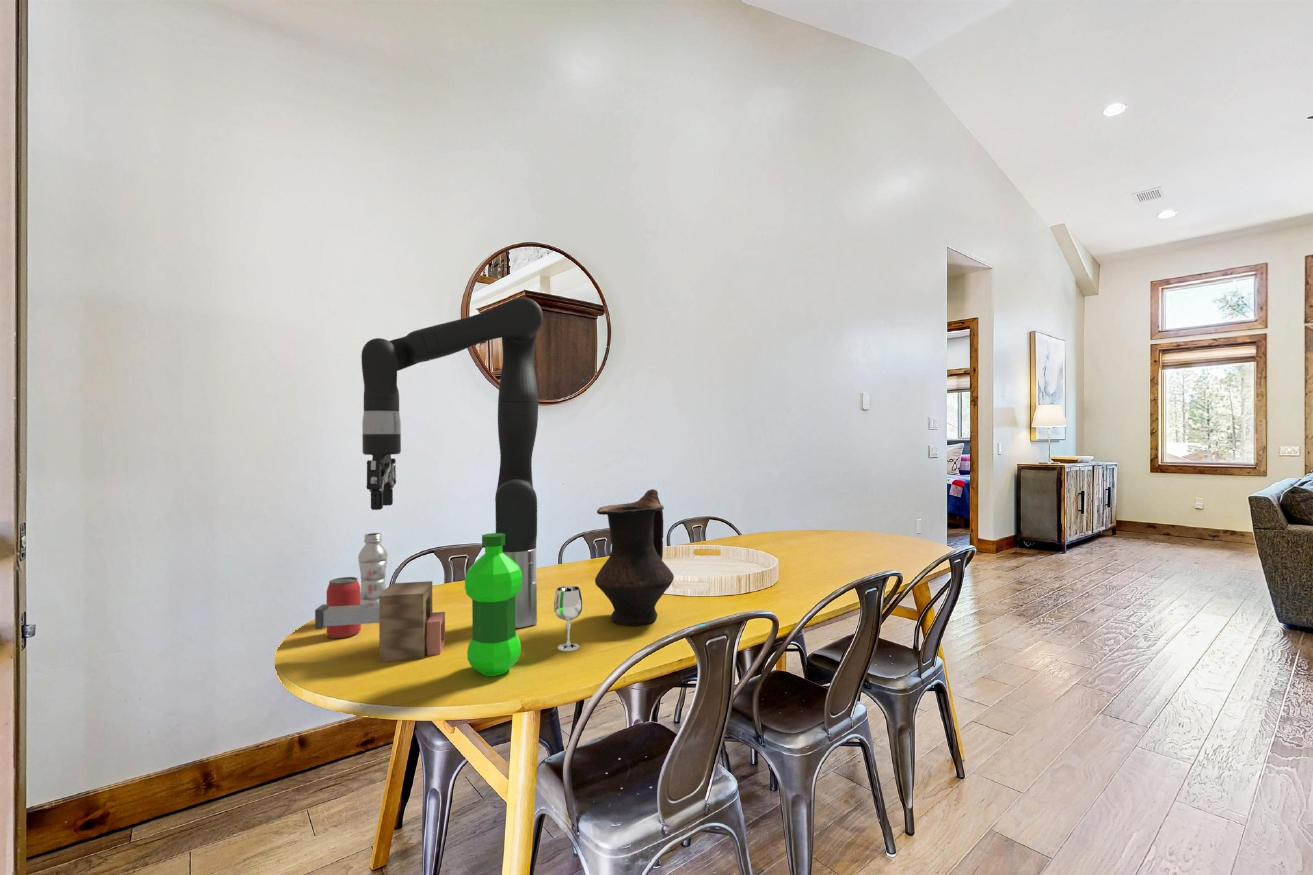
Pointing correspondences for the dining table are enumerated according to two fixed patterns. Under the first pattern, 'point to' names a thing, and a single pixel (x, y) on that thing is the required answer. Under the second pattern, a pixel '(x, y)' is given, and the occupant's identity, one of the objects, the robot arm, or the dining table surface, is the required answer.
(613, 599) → the jug
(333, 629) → the beer can
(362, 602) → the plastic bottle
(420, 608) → the brown wooden block
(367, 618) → the shaft
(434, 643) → the spacer
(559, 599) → the wineglass
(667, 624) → the dining table surface
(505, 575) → the plastic bottle
